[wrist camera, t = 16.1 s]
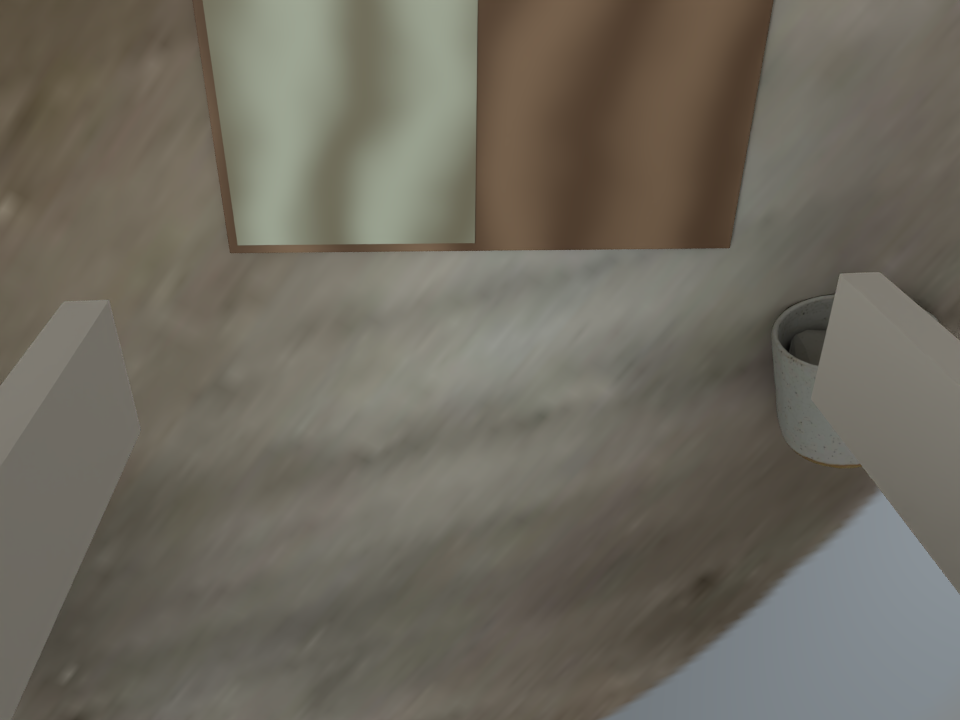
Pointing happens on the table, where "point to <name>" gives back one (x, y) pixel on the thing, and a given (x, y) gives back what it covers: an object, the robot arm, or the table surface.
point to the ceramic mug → (805, 383)
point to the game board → (480, 122)
